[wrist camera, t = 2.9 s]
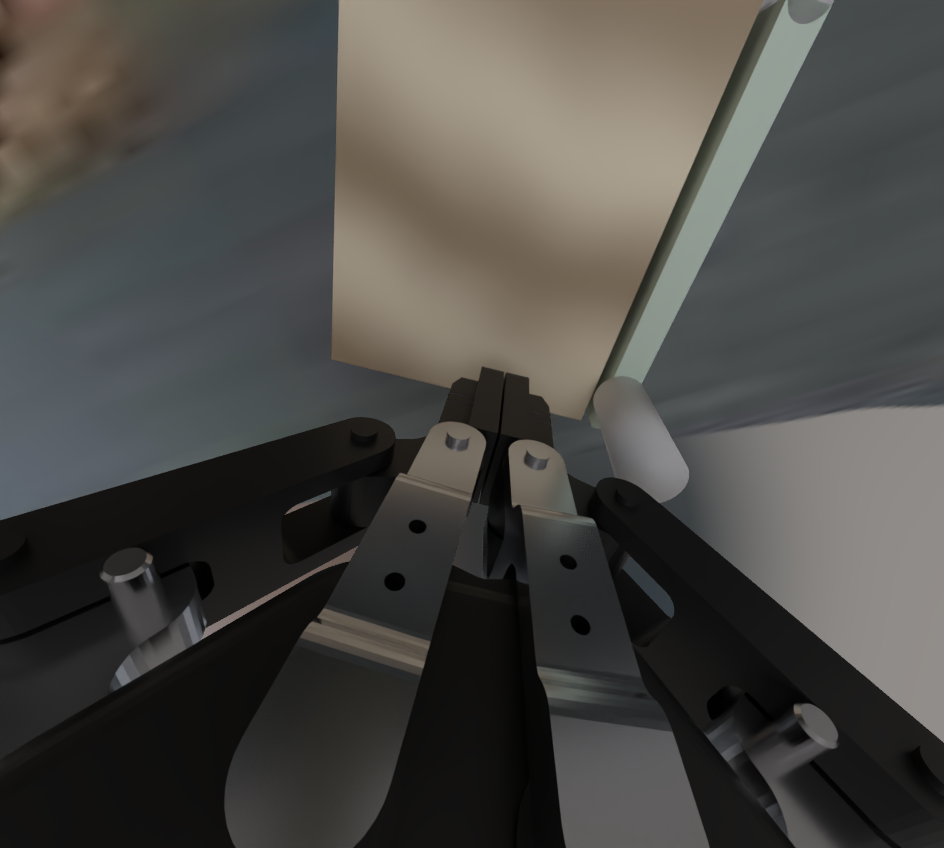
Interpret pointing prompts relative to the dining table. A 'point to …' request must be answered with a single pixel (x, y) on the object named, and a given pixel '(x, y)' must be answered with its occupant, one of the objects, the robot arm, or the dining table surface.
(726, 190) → the grey-green rectangular panel
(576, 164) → the birch box
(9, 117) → the dining table surface
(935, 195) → the dining table surface
